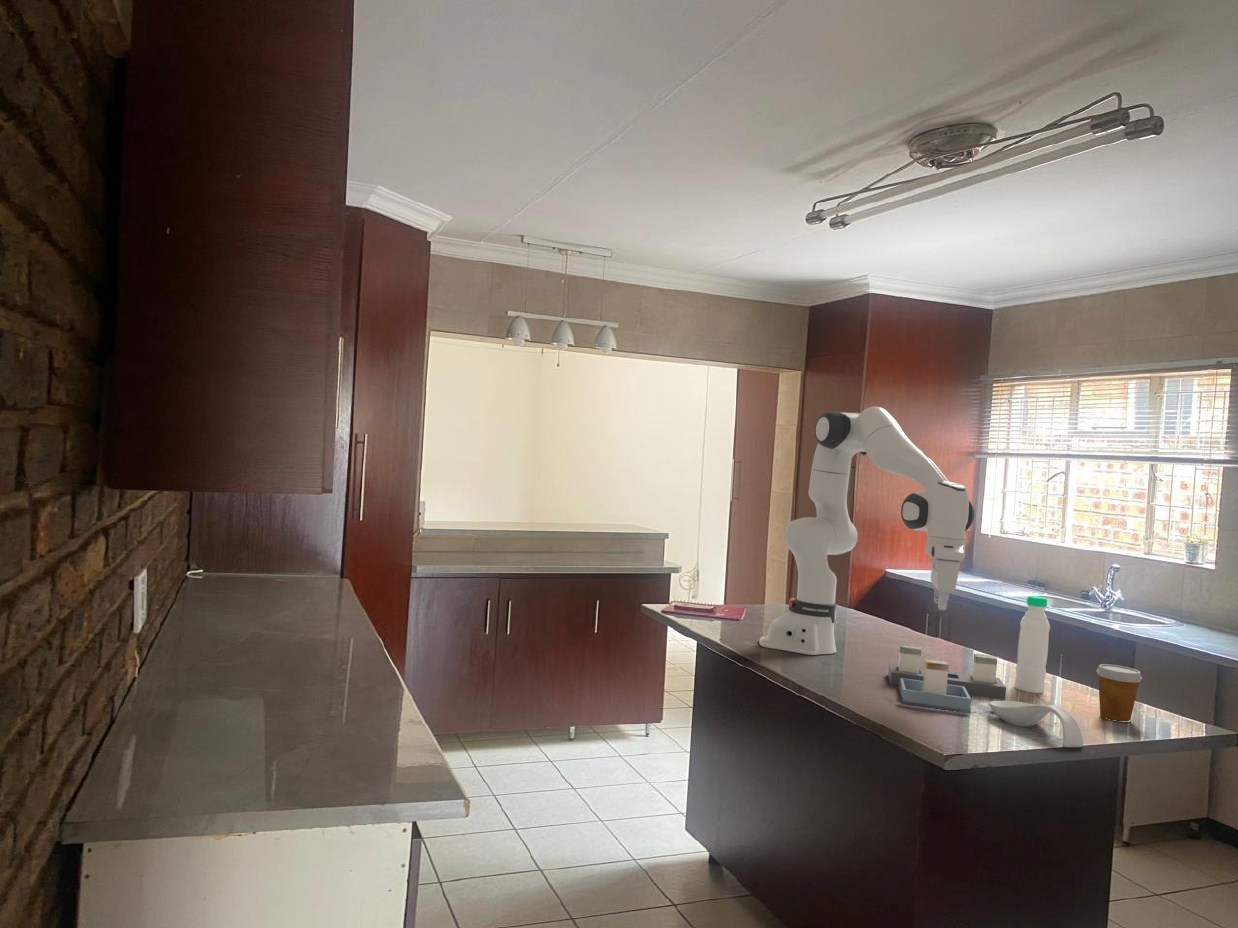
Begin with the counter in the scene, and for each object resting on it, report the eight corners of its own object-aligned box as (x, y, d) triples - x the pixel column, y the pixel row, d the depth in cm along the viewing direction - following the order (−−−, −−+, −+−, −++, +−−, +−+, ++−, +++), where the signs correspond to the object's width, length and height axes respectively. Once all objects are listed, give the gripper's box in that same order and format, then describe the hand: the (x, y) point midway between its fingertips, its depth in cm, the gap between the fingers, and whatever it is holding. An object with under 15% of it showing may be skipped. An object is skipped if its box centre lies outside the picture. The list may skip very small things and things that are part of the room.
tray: (902, 704, 211) (903, 689, 211) (898, 691, 223) (900, 677, 223) (969, 713, 208) (971, 698, 208) (963, 700, 219) (964, 686, 219)
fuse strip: (889, 687, 226) (891, 672, 226) (887, 678, 236) (889, 663, 236) (1004, 703, 220) (1006, 687, 220) (997, 693, 230) (999, 677, 230)
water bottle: (1045, 698, 229) (1054, 600, 228) (1015, 693, 231) (1023, 596, 231) (1042, 691, 236) (1051, 596, 235) (1013, 687, 238) (1021, 593, 238)
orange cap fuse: (923, 699, 214) (926, 661, 214) (922, 695, 218) (925, 658, 218) (945, 702, 213) (948, 664, 213) (943, 698, 217) (947, 661, 216)
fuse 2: (972, 692, 225) (976, 656, 225) (970, 688, 228) (973, 653, 228) (994, 695, 224) (997, 659, 223) (991, 691, 227) (995, 656, 227)
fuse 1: (897, 681, 229) (900, 646, 229) (896, 678, 232) (899, 644, 232) (918, 684, 228) (921, 649, 228) (917, 681, 231) (920, 646, 231)
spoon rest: (977, 714, 209) (980, 683, 209) (1020, 714, 212) (1022, 684, 212) (1052, 749, 186) (1055, 715, 186) (1098, 748, 189) (1101, 715, 189)
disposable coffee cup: (1147, 724, 211) (1152, 674, 211) (1115, 725, 208) (1119, 673, 208) (1114, 712, 220) (1119, 663, 220) (1083, 712, 217) (1087, 663, 217)
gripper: (927, 544, 226) (922, 598, 227) (935, 551, 207) (930, 611, 207) (954, 546, 225) (949, 601, 225) (964, 554, 205) (959, 615, 205)
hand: (940, 606), depth 216 cm, fingers open, 8 cm apart
